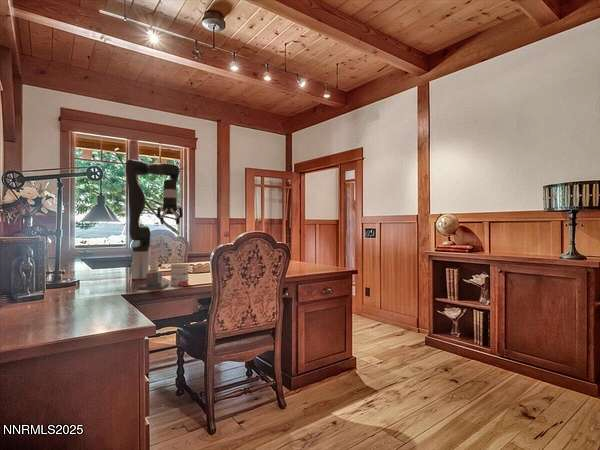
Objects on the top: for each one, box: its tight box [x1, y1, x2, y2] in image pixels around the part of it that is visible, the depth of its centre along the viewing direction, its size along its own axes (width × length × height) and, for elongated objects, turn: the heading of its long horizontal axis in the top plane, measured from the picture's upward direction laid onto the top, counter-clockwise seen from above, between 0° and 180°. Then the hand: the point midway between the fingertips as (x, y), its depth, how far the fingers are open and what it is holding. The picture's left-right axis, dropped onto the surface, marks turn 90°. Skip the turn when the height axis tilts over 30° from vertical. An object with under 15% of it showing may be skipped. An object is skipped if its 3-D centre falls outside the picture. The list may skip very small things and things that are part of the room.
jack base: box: [137, 271, 169, 291], centre depth 186 cm, size 12×12×8 cm
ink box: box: [170, 263, 189, 286], centre depth 196 cm, size 9×5×12 cm, turn 84°
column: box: [148, 244, 159, 273], centre depth 187 cm, size 4×4×16 cm
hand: (169, 224), depth 206 cm, fingers open, 8 cm apart
